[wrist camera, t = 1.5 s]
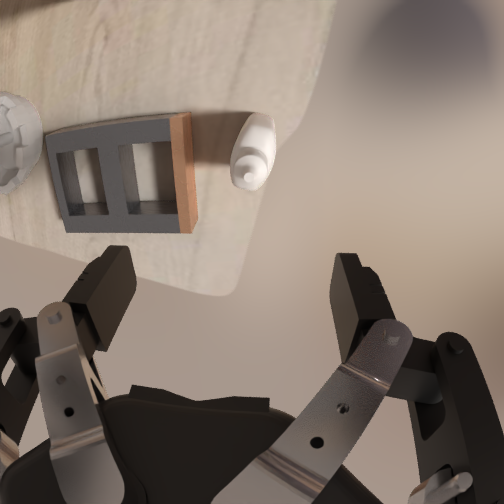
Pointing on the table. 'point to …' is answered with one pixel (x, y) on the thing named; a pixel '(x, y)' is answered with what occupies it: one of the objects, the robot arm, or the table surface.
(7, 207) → the table surface
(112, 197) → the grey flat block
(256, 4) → the table surface
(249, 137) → the eye dropper bottle
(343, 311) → the robot arm
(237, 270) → the table surface
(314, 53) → the table surface
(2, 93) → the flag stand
